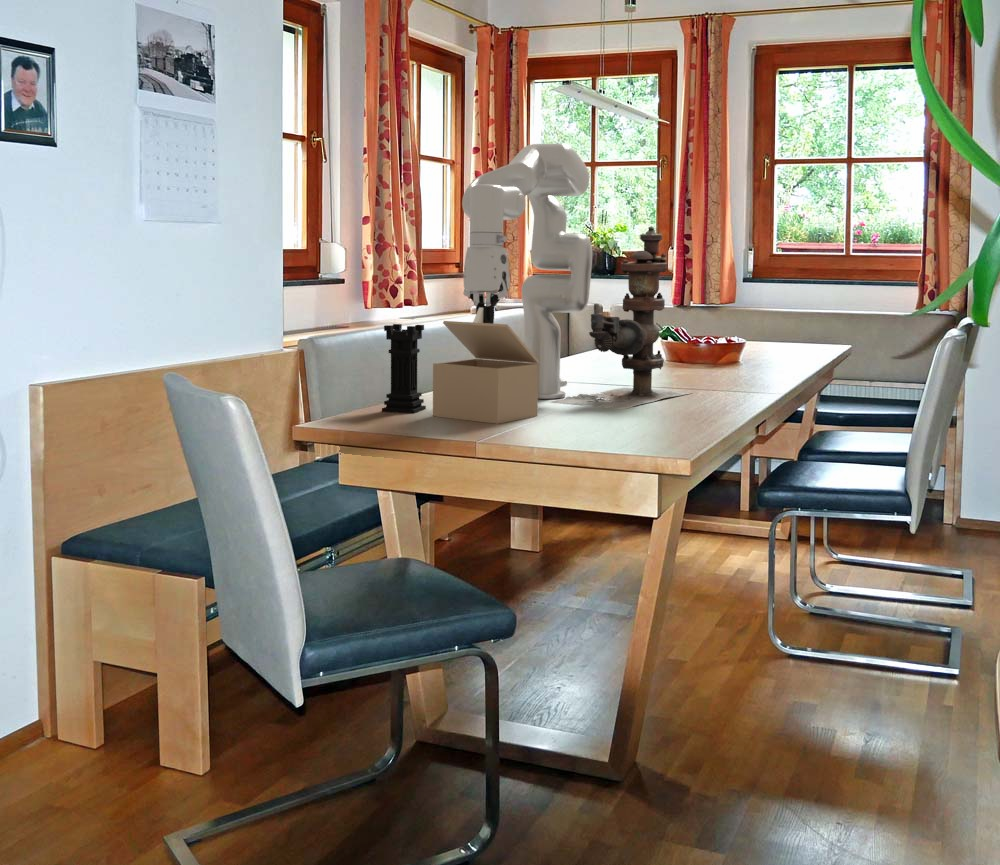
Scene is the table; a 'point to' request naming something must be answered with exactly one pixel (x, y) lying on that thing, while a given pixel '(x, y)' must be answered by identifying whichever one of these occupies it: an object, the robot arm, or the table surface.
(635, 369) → the valve
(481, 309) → the lid flap
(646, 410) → the table surface
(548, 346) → the robot arm
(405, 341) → the chess piece
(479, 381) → the carton
